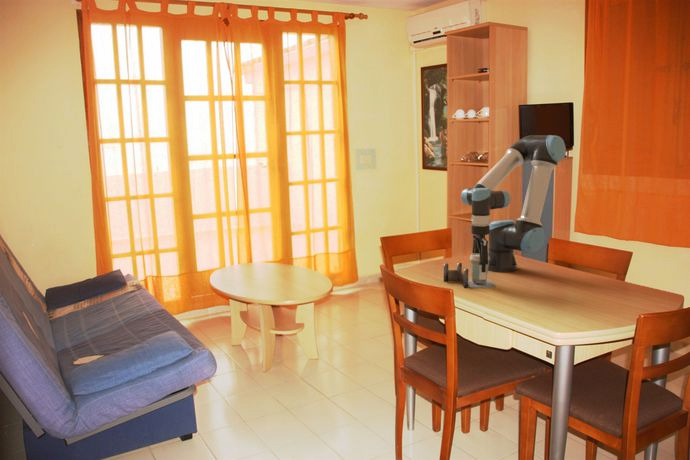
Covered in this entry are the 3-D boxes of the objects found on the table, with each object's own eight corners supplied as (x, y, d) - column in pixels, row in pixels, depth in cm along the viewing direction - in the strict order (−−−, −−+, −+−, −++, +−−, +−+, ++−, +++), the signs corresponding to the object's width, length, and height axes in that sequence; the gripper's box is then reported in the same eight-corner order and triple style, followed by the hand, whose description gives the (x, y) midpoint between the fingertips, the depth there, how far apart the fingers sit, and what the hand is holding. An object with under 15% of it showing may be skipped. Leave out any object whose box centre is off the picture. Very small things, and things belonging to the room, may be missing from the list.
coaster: (488, 280, 263) (488, 279, 262) (495, 287, 252) (495, 286, 252) (463, 281, 262) (463, 280, 262) (470, 288, 251) (470, 286, 251)
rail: (460, 280, 264) (461, 262, 263) (468, 288, 252) (469, 269, 250) (443, 280, 264) (443, 263, 263) (450, 288, 251) (450, 270, 250)
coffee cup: (488, 279, 260) (488, 252, 258) (490, 284, 252) (491, 256, 250) (468, 279, 261) (468, 252, 259) (470, 284, 253) (470, 256, 251)
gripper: (465, 221, 263) (464, 271, 266) (478, 229, 242) (477, 283, 246) (482, 220, 263) (481, 270, 267) (497, 228, 242) (495, 282, 246)
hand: (479, 276), depth 256 cm, fingers closed on coffee cup, 8 cm apart
